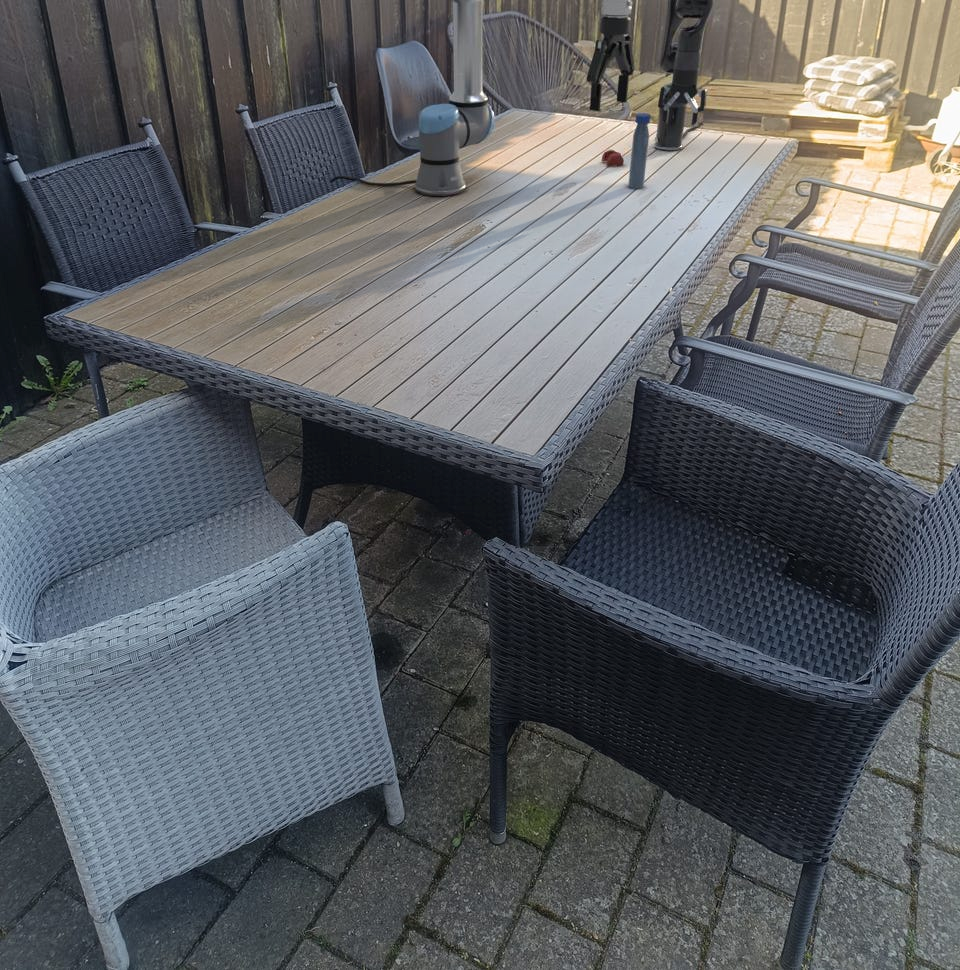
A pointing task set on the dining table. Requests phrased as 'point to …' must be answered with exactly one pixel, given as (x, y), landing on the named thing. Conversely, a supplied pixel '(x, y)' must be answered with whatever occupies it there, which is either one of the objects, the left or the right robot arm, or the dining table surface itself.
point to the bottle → (638, 156)
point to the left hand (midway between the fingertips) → (608, 106)
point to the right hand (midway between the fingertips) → (679, 123)
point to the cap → (643, 118)
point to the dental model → (612, 158)
